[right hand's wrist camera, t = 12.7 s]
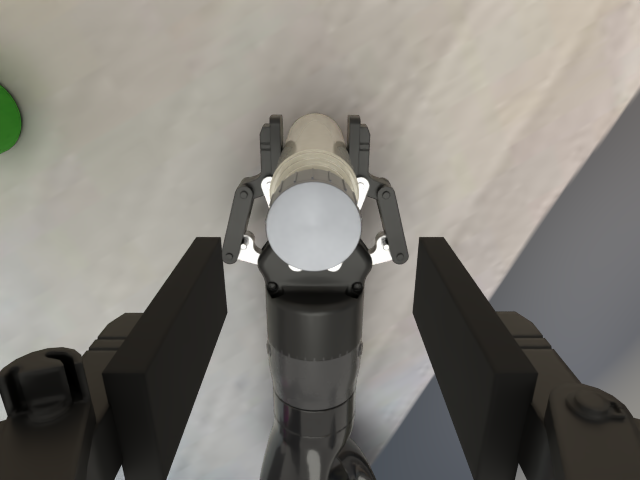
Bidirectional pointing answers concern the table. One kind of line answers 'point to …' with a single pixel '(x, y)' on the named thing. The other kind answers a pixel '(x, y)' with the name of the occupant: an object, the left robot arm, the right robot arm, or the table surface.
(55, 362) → the right robot arm
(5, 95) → the potted flower
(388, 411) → the table surface
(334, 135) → the bottle
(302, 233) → the cap
